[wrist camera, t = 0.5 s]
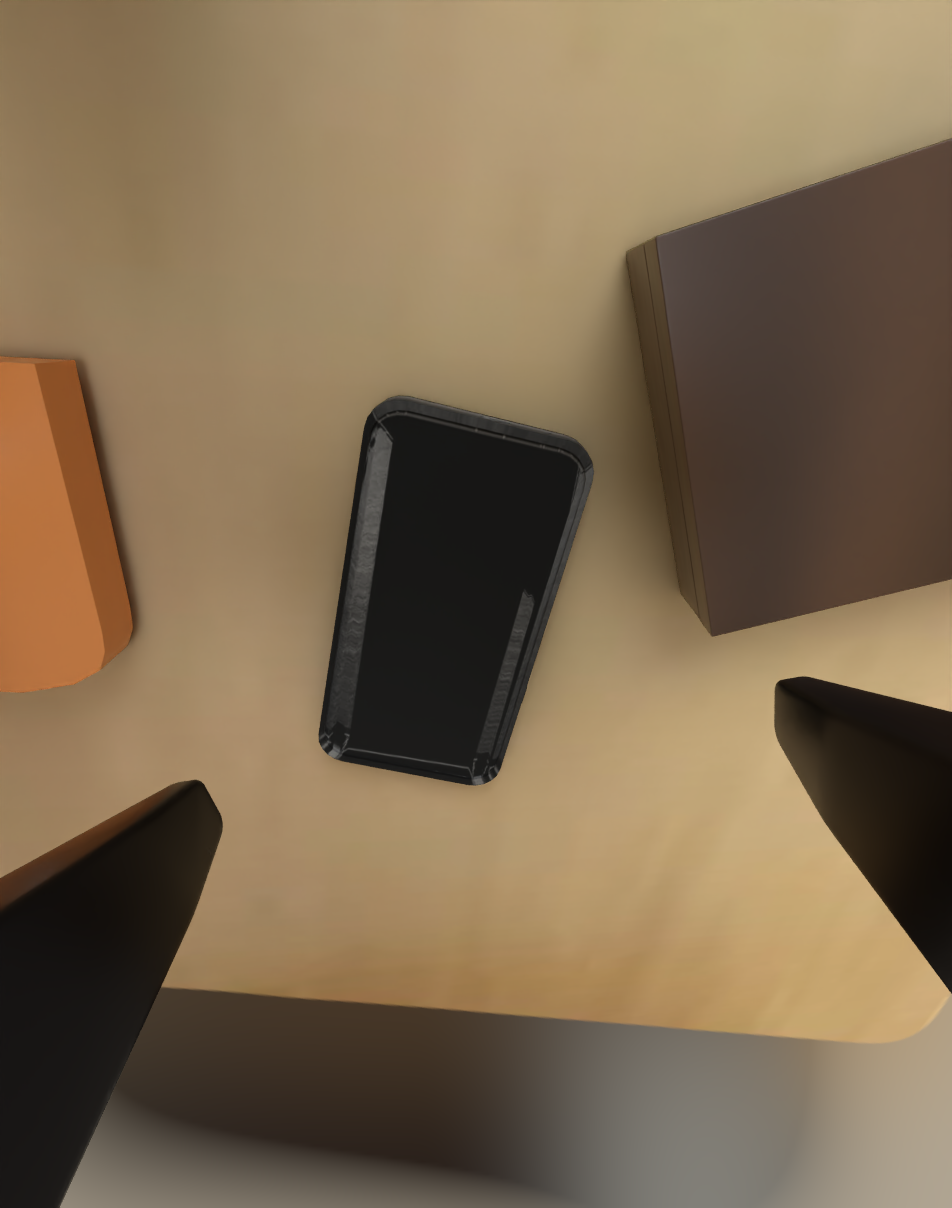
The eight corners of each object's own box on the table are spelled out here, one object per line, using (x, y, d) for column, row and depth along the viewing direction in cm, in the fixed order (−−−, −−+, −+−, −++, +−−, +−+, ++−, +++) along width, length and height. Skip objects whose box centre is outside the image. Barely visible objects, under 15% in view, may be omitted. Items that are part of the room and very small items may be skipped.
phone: (315, 756, 25) (369, 391, 19) (321, 738, 26) (375, 387, 20) (496, 790, 26) (606, 449, 19) (495, 772, 27) (600, 443, 20)
